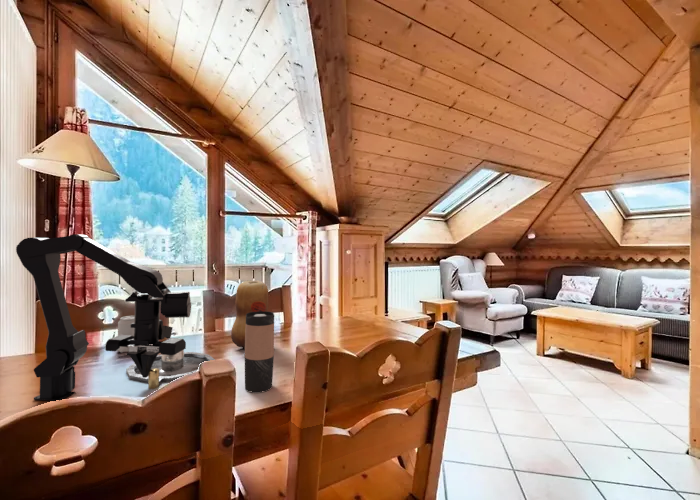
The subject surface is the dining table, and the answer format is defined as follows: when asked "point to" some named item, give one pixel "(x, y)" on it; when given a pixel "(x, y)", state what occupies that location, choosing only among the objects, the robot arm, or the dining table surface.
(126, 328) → the can
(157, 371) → the curvy grey metal tray
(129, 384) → the dining table surface
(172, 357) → the cover
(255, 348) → the travel mug
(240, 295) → the butternut squash
